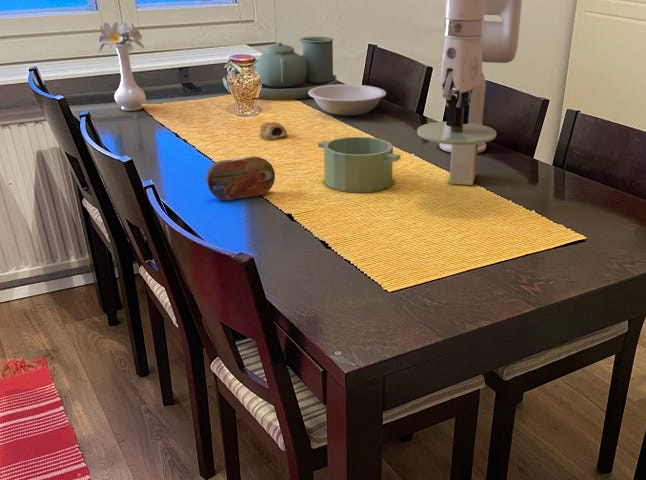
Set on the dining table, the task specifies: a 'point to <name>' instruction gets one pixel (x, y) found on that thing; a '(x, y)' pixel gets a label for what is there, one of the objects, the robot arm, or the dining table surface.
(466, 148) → the small box
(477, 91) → the robot arm
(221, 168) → the tin
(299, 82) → the tea set
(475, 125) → the pot lid
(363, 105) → the soup bowl
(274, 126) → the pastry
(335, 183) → the casserole
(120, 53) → the flower vase
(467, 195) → the dining table surface
